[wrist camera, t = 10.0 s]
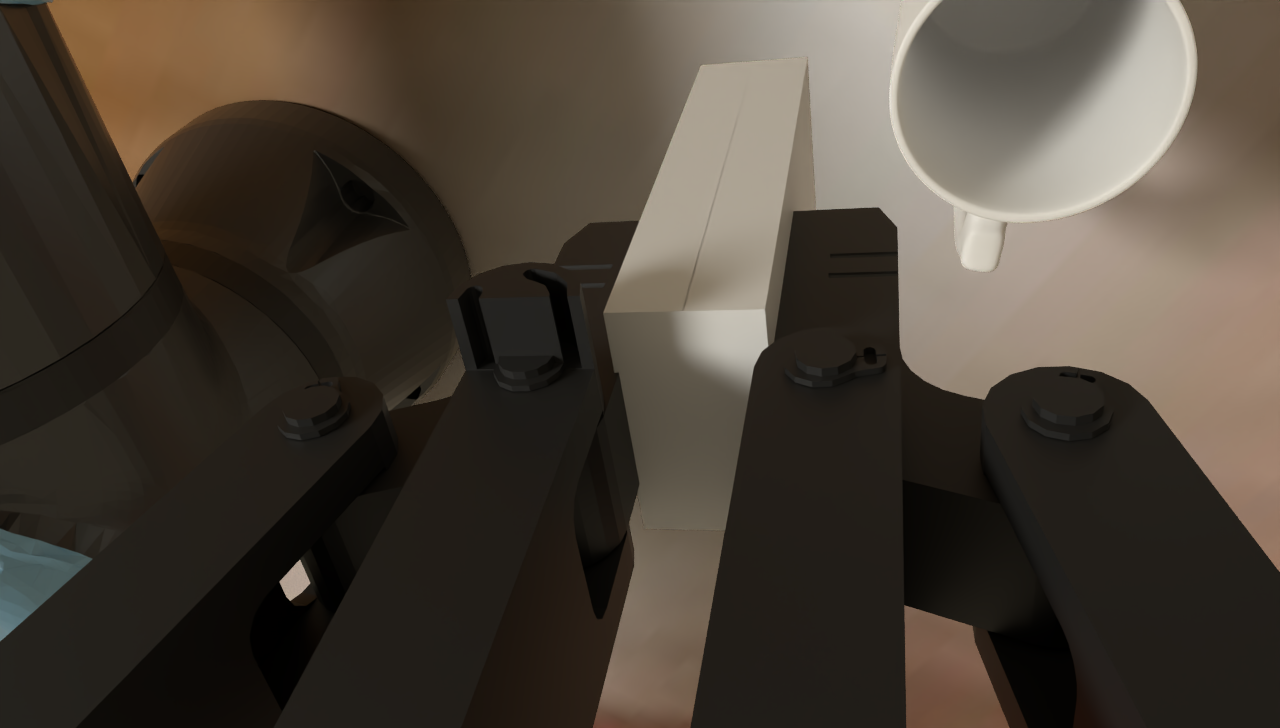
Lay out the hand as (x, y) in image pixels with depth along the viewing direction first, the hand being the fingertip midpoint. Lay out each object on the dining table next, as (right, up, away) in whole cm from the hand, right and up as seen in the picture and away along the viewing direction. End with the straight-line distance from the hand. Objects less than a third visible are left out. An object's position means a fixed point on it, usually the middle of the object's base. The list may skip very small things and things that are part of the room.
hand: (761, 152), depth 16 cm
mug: (+10, +9, +20) cm, 24 cm away
